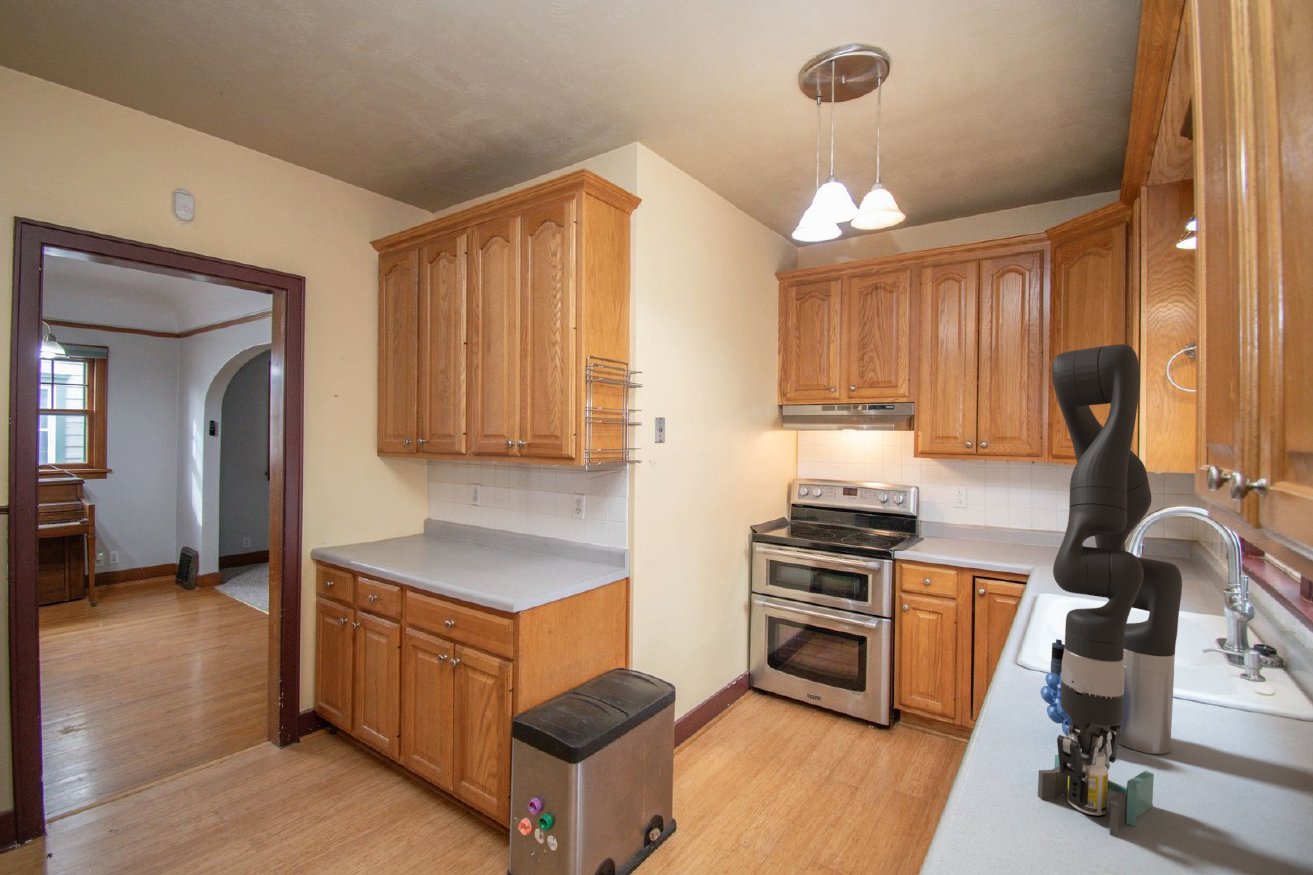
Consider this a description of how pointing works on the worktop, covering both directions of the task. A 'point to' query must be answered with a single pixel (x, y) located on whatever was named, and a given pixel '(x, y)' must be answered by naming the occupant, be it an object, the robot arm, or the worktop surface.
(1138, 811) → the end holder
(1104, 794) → the supplement bottle
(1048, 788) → the pair of grey blocks
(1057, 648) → the vaping device
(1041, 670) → the worktop surface
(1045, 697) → the grapes
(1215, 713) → the worktop surface
